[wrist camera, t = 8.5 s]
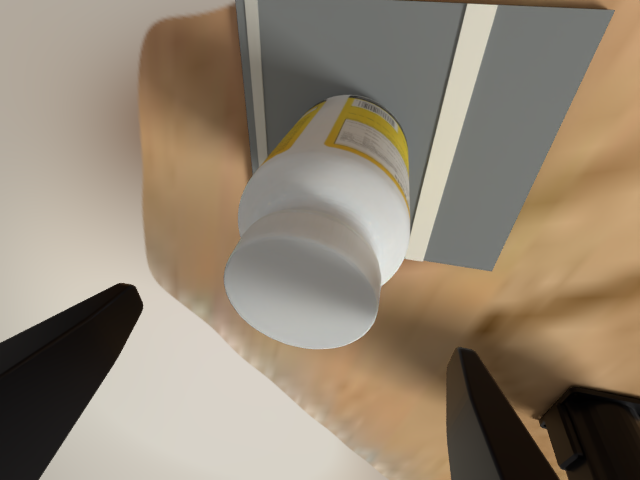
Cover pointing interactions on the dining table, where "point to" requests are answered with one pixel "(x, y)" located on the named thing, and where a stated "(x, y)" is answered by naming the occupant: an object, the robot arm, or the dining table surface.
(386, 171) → the pill bottle
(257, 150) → the mat
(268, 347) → the dining table surface
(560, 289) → the dining table surface
